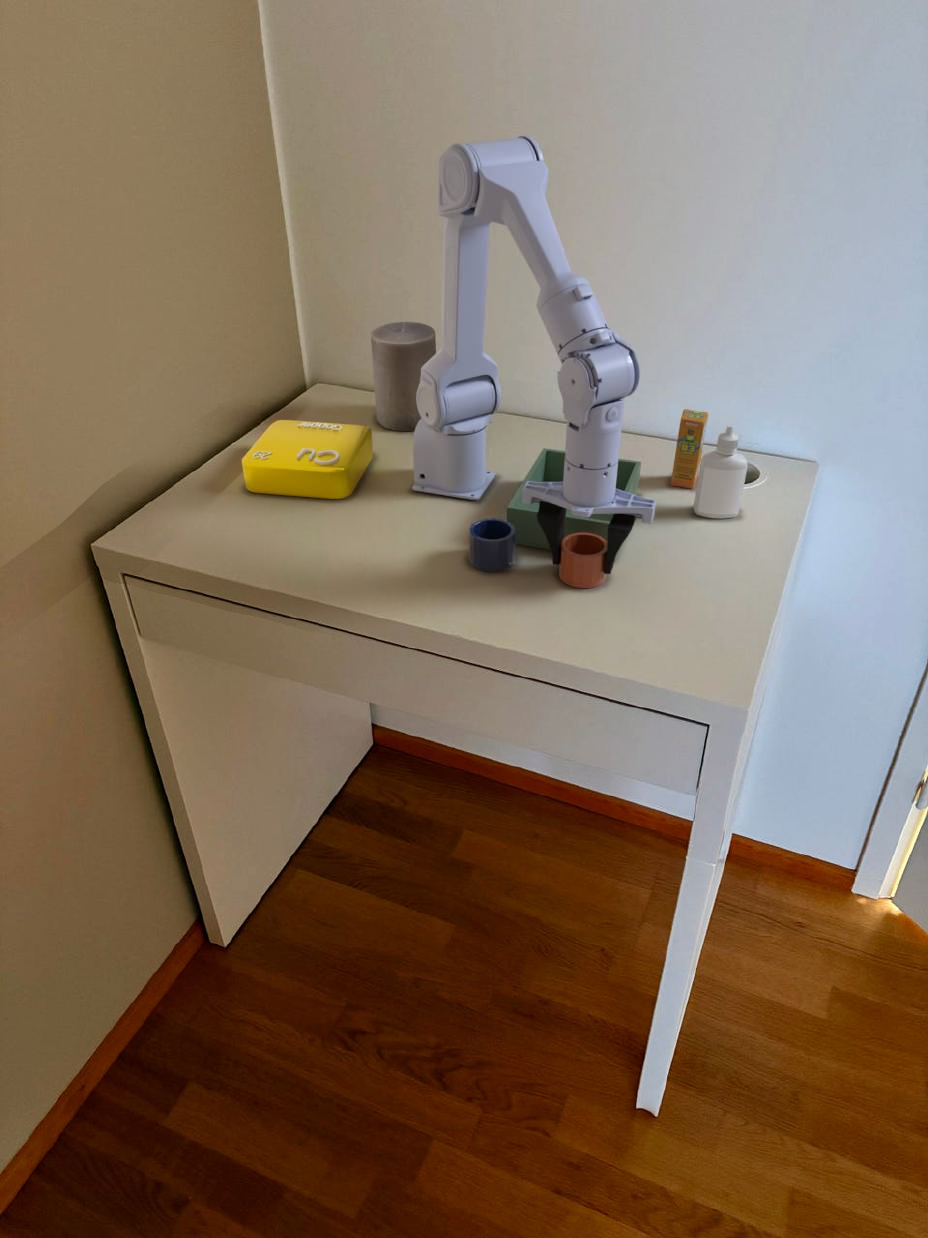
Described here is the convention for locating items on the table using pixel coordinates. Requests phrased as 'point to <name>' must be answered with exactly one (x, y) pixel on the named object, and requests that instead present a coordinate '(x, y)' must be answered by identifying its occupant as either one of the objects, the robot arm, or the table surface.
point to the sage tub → (552, 470)
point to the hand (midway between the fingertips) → (582, 565)
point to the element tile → (308, 459)
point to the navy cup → (492, 544)
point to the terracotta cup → (582, 560)
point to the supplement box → (689, 448)
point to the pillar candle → (400, 371)
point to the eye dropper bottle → (721, 479)
